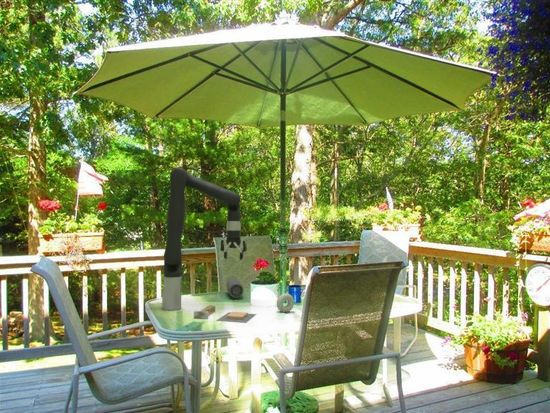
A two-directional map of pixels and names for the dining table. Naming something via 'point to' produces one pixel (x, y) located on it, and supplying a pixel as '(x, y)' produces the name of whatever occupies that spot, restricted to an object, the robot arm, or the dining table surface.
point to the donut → (281, 300)
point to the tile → (237, 315)
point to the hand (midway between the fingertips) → (233, 259)
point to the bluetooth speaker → (234, 287)
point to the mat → (245, 320)
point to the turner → (204, 312)
